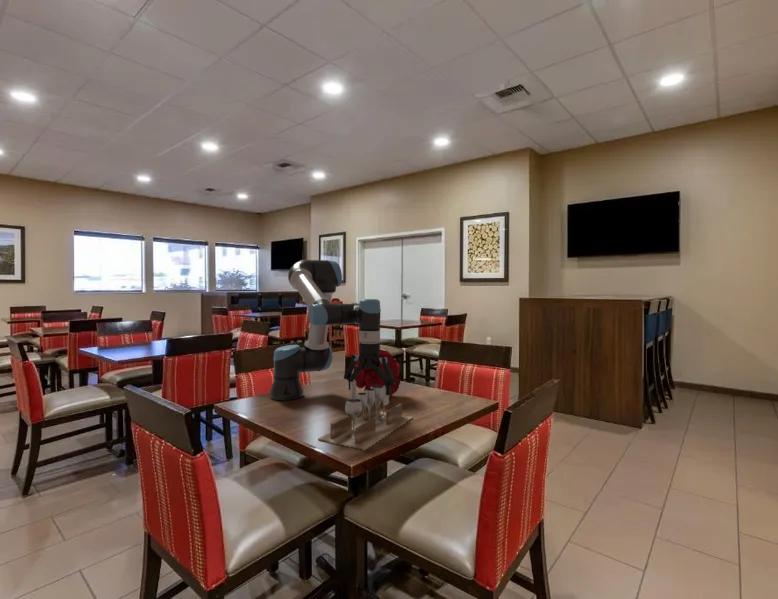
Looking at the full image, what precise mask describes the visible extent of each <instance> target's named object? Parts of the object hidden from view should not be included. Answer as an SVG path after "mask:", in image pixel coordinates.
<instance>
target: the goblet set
mask: <svg viewBox="0 0 778 599" xmlns="http://www.w3.org/2000/svg"><path fill="white" fill-rule="evenodd" d="M383 386H385V385H381V386H380V385H374V386H371V388H370V389H366V390H365V391H364V392H359V393H357V395H356V399H350V398H348V399H346V402H345V406H344V411H345V413H346V414H347V415H349V416H350V418H351V419H352V422H353V434H349V435H347V438H349V439H355V434H354V423H355V420H356V419H357V418H359V417H361V425H362V424H363V415H364V410H365V408H366V406H367V407H368V410H369V420H370V413H371V408H372V406H373V403H374V404H375V406H376V424H380V423H383V421H382V420H378V418H379V419H386V416H385V415H384V412H385V406H386V405H383ZM379 404H380V405H381V404H382V412H383V415H382V416H379V417H378V406H379Z"/></svg>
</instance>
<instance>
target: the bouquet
mask: <svg viewBox="0 0 778 599" xmlns="http://www.w3.org/2000/svg"><path fill="white" fill-rule="evenodd" d="M384 357H388V363H389V366H390V368H391V371H392V373H393V375H394V378H395V380H396V384H394V385H391V394H390V395H389V397H392V395H394V394H395V393H396V392H397V391H398V390H399V388H400V385H401V379H400V378H399V377H400V372H401V368H400V366H401V365H400V363H398V362H397V361H396V359H395V358H394V356H393V355H392V354H391V352H389V351H388V350H386V349H385V350H384V349H381V348H380V358H384ZM359 364H360V361H359V359H358V361H357V363H356V365H355V367H354V369H353V372H354V371H355V370H356V368H357V366H358V365H359ZM379 364H380V365H381V367H382V370H383V371H384V373H385V370H384V368H383V365H382V363H381V361H380V362H379ZM353 372H352V373H353ZM385 374H386V373H385ZM354 381H356V388H358V389H363V388H364V389H363V392H365V390H366V389H370V388H371V386H374V385H380V386H381V385H385V384H384V382H383V381H382V379H381V378H380V377H379V375H378V374H377V372H376V371H375V370H374V369H369V368H367V369H365V368H363V369H362V370H361V372H360V373H359V374H358V375H357V377H356V378H355V380H354Z"/></svg>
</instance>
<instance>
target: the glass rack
mask: <svg viewBox="0 0 778 599" xmlns="http://www.w3.org/2000/svg"><path fill="white" fill-rule="evenodd" d="M382 415H383V411H381V403H380V404H379V406H378V417H379V416H382ZM384 415H385V416H386V419H379V418H378V420H382V421H383V423H380V424H376V406H375V404H374V403H373V406H372V408H371V413H370V420H369V410H368V407H367V405H366V408H365V410H364V413H363V424H362V425H361V416H358V417H357V418H356V420H355V423H354V434H355V439H349V438H347V435H349V434H353V422H352V419H351V418H350V416H349V415H348V414H347V415H344V416H343V417H340V418H338V419H337V420H335V421H332V422H330V424H329V425H330V428H329V429H330V432H328V433H326V434H324V435H322V436H319V437H318V438H317V441H318V440H320V441H319V442H323V441H325V442H324V443H328V442H329V443H328V444H332V443H334V445H337V444H339V445H338V446H341V445H344V446H343V447H346V446H349V447H348V448H351V447H353V448H352V449H355V448H357V449H356V450H360V449H362V450H361V451H367V450H369V449H370V448H371V447H373V446H374V445H376V444H377V443H378V442H380V441H382V440H383V439H385V438H386V437H387V436H389V435H390V434H392V433H393V432H395V431H396V430H398V429H399V428H401V427H402V426H403V424H404V425H405V424H407V423H408V422H410V421H411V420H413V419H414V417H413V416H409V415H403V403H398V404H395V405H394V406H392V407H390V408H389V409H387V410H386V412H385V411H384ZM412 418H413V419H412ZM410 419H411V420H410ZM409 420H410V421H409ZM407 421H408V422H407ZM406 422H407V423H406ZM400 426H401V427H400ZM397 428H398V429H397ZM394 430H395V431H394ZM391 432H392V433H391ZM388 434H389V435H388ZM385 436H386V437H385ZM382 438H383V439H382ZM379 440H380V441H379ZM376 442H377V443H376ZM372 445H373V446H372ZM369 447H370V448H369ZM366 449H367V450H366Z"/></svg>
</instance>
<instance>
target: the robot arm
mask: <svg viewBox="0 0 778 599" xmlns="http://www.w3.org/2000/svg"><path fill="white" fill-rule="evenodd" d="M287 279H288V283H289V285H291V287H292V288H293V289H294V290H297V292H298V293H299V295H300V296H301V298H302V299H303V301H304V303H305V304H306V306H307V307H308V310H307V312H308V313H307V314H308V315H307V318H308V321H309V330H308V338H307V340H306V341H304V344H303V347H301V346H300V345H298V344H289V345H288V344H287V345H284V346H280V347H277V348H276V349H275V350H274V351H273V358H272V359H273V383H272V385H271V388H270V391H269V398H270V399H271V400H275V401H293V400H298V399H301V398H303V397H304V389H303V386H302V383H301V380H300V378H301V377H300V374H301V373H310V372H311V373H312V372H321V371H326V370H328V369H329V368H330V367H331V365H332V362H333V350H332V347H331V346H330V344H329V342H327V340H328V338H327V337H328V330H329V326H330V325H331V326H332V325H333V326H334V325H354V324H355V325H358V330H359V332H358V341H359V343H358V353H359V355H358V353H355V354H352V355H351V357H350V361H349V364H348V367H347V369H346V370H345V374H344V376H343V379H344V380H347V381H348V390H349V391H350V394H349V399H357V386H356V381H355V378H356V377H357V375H358V374H359V373H360V372H361V370H362V369H363V368H365V369H367V368H369V369H374V370H375V371H376V372H377V374H378V375H379V377H380V378H381V379H382V381H383V382H384V384H385V386H383V404H382V406H383V405H385V406H386V405H388V404H389V402H390V396H389V395H390V394H391V385H394V384H396V380H395V378H394V375H393V373H392V371H391V368H390V366H389V363H388V357H384V358H380V349H381V344H380V341H381V301H380V300H379V299H377V298H374V299H373V298H361V299H360V300H359V302H358V303H357V302H354V303H352V302H351V303H332V298H333V297H332V296H333V294H334V293H336V292H337V288H338V287H340V286H341V284H342V281H343V273H342V269H341V267H340V264H339V263H338V262H336V261H333V260H327V259H326V260H325V259H323V260H322V259H317V260H316V259H301V260H299V261H297V262H295V263H294V264H293V265H292V266H291V267H290V269H289V270H288V274H287ZM358 359H359V361H360V364H359V365H358V366H357V368H356V370H355V371H354V372H353V370H354V368H355V365H356V363H357V361H358ZM380 361H381V363H382V365H383V368H384V370H385V373H386V374H385V373H384V371H383V370H382V367H381V365H380V364H379V362H380ZM302 396H303V397H302ZM300 397H301V398H300ZM292 399H293V400H292Z"/></svg>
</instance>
